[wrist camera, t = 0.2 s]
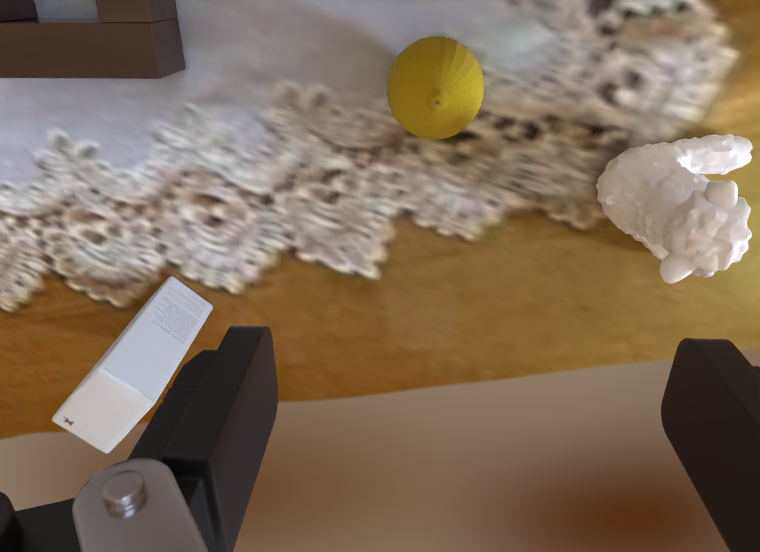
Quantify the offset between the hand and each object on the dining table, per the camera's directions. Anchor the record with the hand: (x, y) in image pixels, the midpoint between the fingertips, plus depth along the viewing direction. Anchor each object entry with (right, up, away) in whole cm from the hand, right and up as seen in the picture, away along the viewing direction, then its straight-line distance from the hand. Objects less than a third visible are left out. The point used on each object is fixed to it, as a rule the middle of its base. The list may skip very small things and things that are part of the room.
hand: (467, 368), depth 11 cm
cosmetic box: (-18, -1, +34) cm, 39 cm away
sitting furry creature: (+17, +8, +28) cm, 33 cm away
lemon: (+2, +15, +25) cm, 29 cm away
